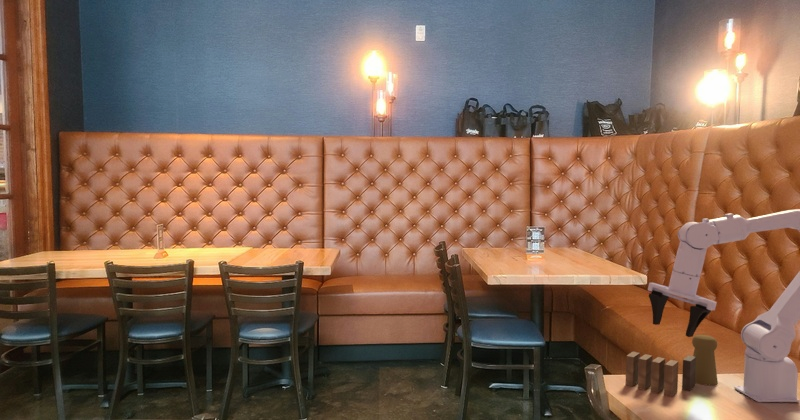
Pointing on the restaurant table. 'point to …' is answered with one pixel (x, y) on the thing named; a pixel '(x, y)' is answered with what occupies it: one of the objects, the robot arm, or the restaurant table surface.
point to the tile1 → (688, 373)
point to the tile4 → (644, 372)
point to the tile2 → (671, 378)
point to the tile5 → (632, 368)
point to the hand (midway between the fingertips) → (672, 330)
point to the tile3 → (657, 374)
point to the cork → (705, 359)
